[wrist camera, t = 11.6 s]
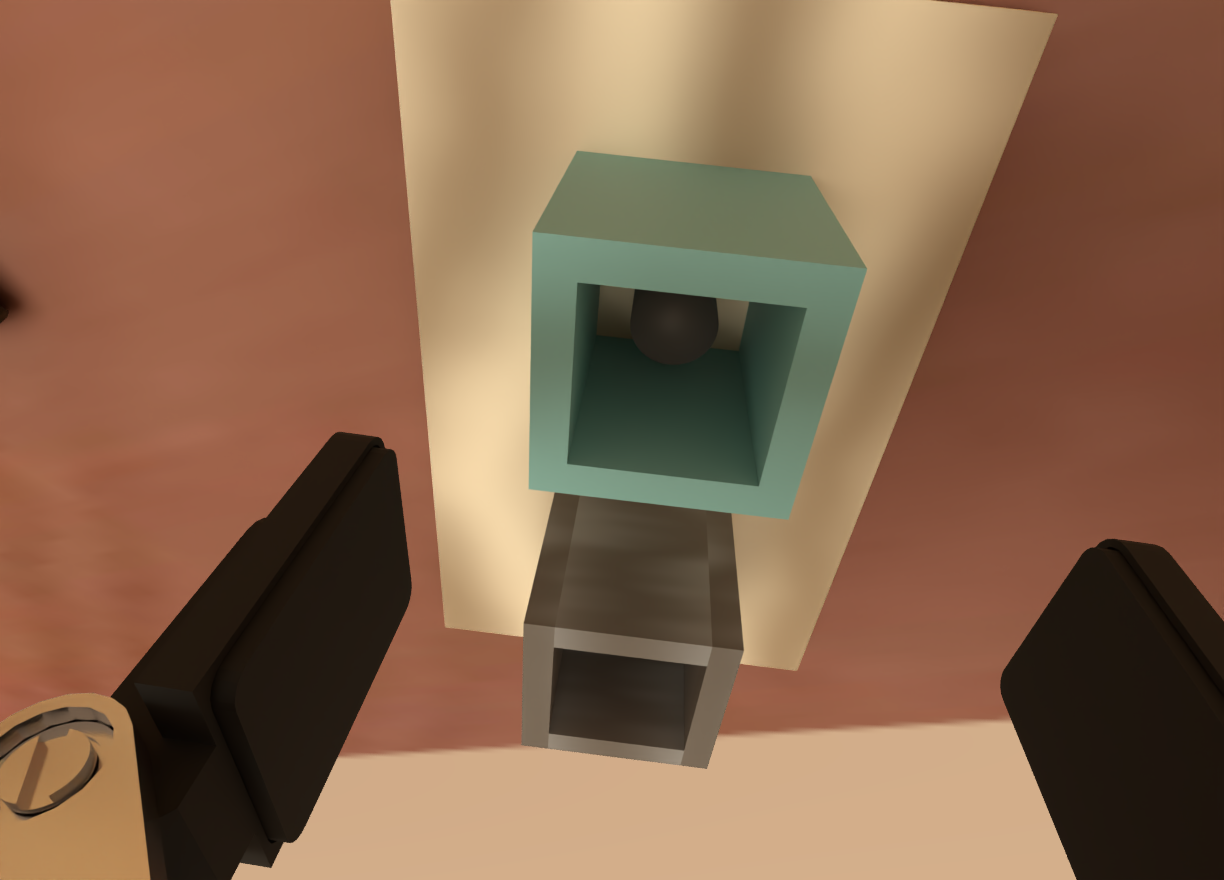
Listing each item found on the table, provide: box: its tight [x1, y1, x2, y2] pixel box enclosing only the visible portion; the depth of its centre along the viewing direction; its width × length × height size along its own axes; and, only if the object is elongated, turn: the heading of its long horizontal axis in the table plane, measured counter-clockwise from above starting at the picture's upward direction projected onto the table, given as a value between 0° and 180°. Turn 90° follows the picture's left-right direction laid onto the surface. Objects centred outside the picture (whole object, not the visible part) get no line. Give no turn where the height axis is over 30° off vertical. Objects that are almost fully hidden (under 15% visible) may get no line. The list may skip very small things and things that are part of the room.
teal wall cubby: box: [529, 151, 867, 520], centre depth 15 cm, size 6×6×6 cm
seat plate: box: [391, 0, 1058, 769], centre depth 18 cm, size 14×22×7 cm, turn 175°
